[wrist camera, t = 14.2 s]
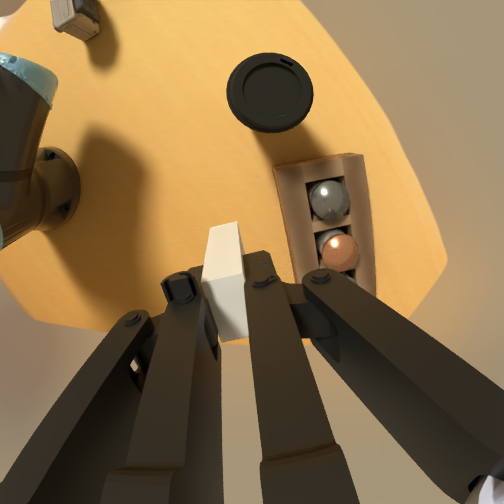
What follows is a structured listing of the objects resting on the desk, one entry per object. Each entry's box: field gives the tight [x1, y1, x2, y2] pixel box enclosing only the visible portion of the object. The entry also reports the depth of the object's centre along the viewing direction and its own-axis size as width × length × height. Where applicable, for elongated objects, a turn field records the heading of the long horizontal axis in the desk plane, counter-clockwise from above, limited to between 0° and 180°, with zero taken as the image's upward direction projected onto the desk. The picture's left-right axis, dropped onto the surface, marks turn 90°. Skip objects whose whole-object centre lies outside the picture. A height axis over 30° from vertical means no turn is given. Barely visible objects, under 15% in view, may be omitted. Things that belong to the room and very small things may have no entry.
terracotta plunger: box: [314, 227, 359, 272], centre depth 45 cm, size 6×6×7 cm
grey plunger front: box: [306, 179, 350, 220], centre depth 44 cm, size 6×6×7 cm
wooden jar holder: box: [272, 153, 376, 297], centre depth 48 cm, size 13×26×6 cm, turn 13°
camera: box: [51, 0, 100, 41], centre depth 29 cm, size 11×6×10 cm, turn 16°
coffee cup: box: [226, 53, 314, 133], centre depth 35 cm, size 10×10×15 cm
